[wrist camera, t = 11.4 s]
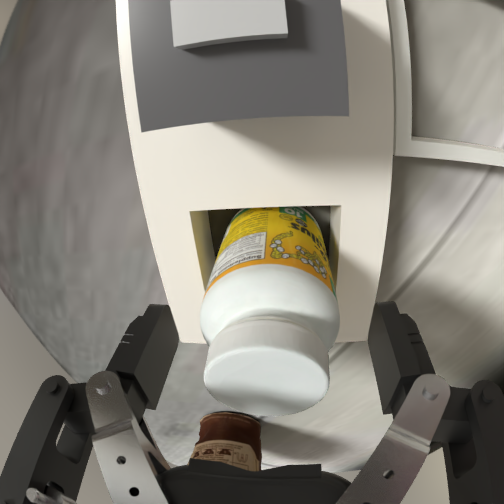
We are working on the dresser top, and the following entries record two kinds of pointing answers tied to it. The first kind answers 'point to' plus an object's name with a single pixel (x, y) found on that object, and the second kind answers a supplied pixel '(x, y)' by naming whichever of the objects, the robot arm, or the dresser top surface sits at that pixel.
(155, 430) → the dresser top surface
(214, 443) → the coffee cup
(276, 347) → the supplement bottle
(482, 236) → the dresser top surface
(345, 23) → the white holder base
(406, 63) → the tray
